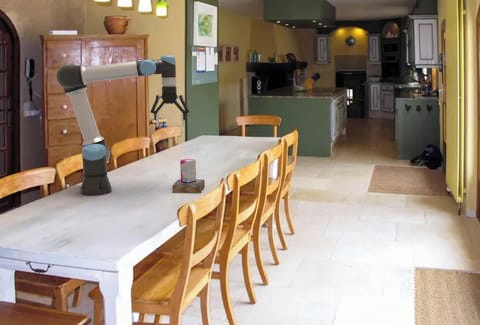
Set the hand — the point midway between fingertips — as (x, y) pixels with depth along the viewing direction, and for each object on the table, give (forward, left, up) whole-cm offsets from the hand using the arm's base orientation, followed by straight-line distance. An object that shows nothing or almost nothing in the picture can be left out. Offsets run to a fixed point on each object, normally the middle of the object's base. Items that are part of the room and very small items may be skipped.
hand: (170, 126), depth 303 cm
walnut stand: (+12, -14, -31) cm, 36 cm away
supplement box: (+12, -14, -27) cm, 32 cm away
